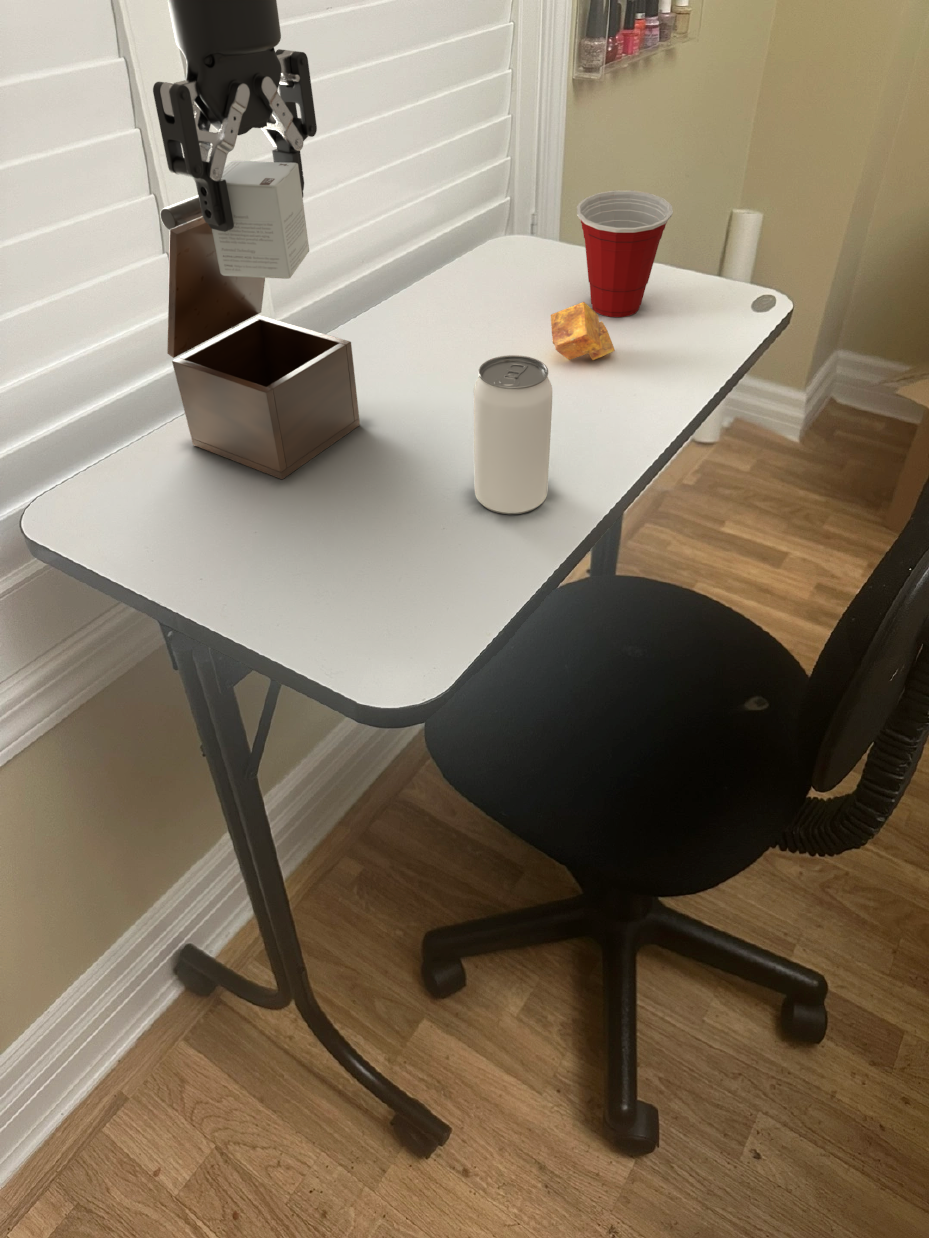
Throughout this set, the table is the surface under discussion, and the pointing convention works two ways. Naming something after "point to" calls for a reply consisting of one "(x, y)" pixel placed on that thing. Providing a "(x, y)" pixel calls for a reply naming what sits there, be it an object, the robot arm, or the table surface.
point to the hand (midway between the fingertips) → (257, 213)
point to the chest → (269, 394)
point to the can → (512, 434)
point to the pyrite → (580, 333)
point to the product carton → (263, 221)
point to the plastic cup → (621, 246)
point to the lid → (202, 282)
